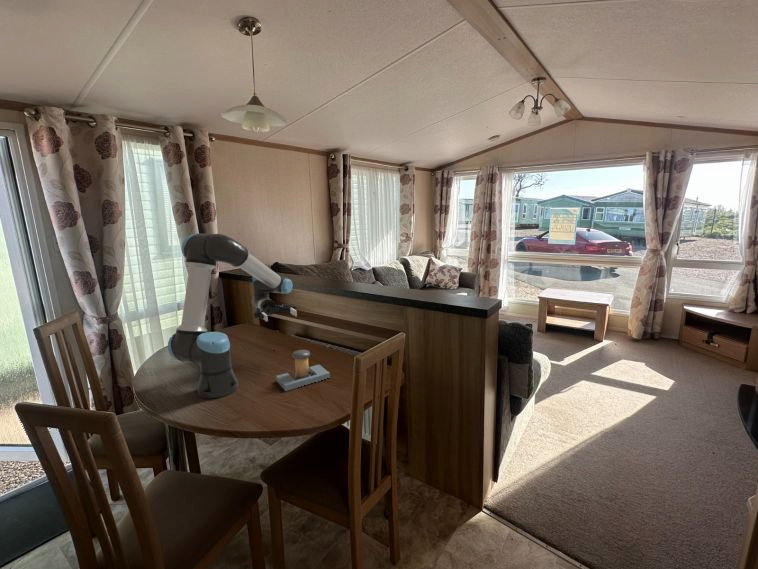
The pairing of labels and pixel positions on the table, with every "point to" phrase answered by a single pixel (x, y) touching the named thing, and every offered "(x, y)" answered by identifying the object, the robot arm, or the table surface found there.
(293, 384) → the notched board
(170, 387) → the table surface
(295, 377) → the bobbin
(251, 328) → the table surface
